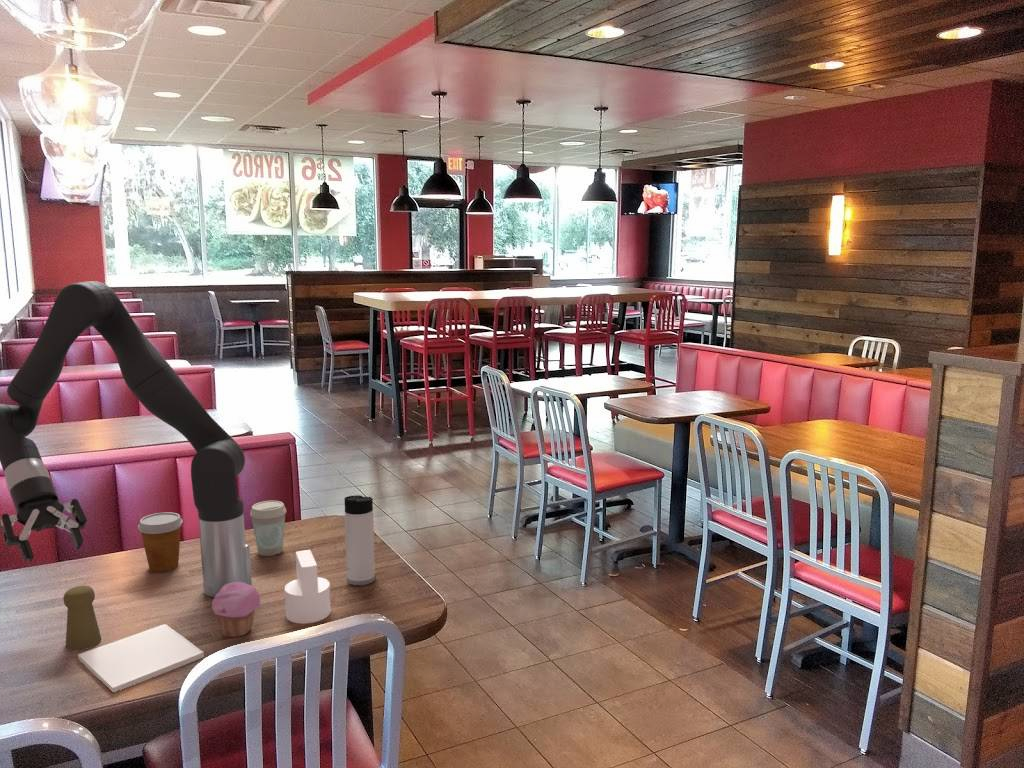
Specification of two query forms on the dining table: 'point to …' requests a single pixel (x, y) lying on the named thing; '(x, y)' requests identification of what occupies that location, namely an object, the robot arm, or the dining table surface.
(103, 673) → the white mat
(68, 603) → the cork
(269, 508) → the coffee cup
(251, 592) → the cupcake
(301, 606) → the cylinder with rectangular tab
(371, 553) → the travel mug
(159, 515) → the disposable coffee cup
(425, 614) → the dining table surface
